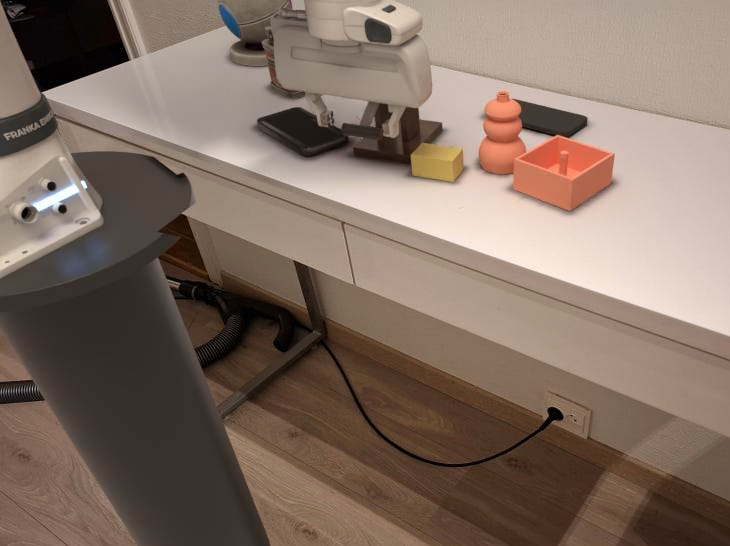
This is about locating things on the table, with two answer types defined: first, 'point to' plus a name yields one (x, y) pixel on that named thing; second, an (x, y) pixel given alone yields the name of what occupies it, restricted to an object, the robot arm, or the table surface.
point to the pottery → (542, 159)
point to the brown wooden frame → (406, 141)
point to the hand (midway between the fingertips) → (358, 130)
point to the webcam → (249, 27)
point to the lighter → (269, 51)
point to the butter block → (437, 162)
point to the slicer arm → (364, 125)
